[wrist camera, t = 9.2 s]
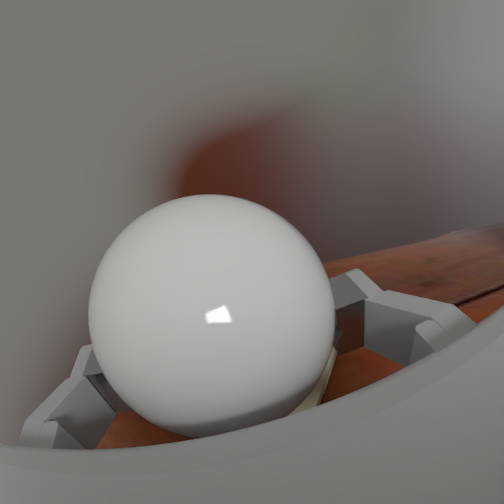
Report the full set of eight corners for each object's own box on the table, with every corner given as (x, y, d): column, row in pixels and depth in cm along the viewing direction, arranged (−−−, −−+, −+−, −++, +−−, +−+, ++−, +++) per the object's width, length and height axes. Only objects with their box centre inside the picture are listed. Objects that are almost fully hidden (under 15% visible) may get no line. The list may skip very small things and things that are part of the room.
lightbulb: (307, 380, 14) (273, 157, 9) (356, 480, 8) (396, 202, 4) (189, 412, 13) (90, 208, 9) (203, 522, 8) (-12, 315, 3)
